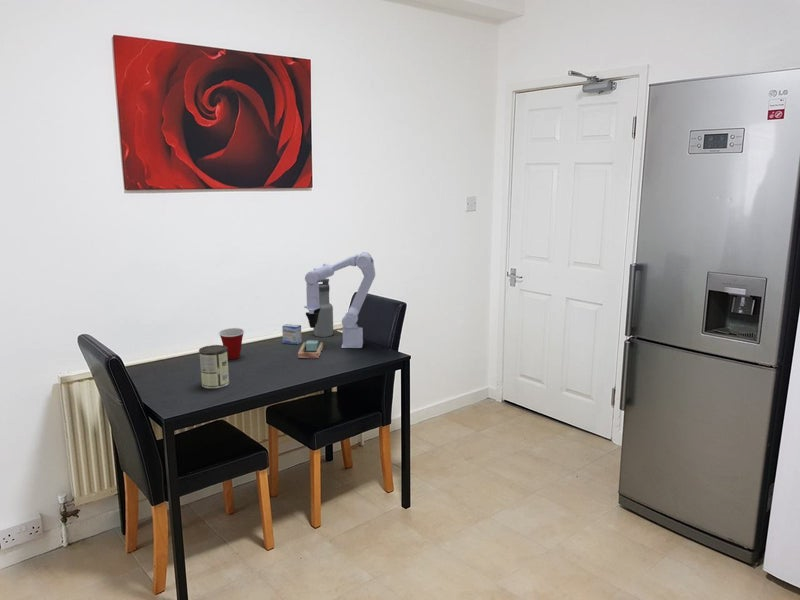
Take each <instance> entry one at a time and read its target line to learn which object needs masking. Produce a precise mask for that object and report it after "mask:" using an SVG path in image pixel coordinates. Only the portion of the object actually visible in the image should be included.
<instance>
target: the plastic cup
mask: <svg viewBox="0 0 800 600" xmlns="http://www.w3.org/2000/svg"><path fill="white" fill-rule="evenodd" d="M244 333H245V330H244V329H243V328H239V327H230V328H225V329H222V330H220V331H219V332H218V335H219V337H220V338H221V339H220V340H221V342H222V345H223V346H226V347H227V355H228V360H237V358H238V359H239V357H241V353H242V352H241V351H242V345H243V339H244V338H243V337H244Z"/></svg>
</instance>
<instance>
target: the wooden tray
mask: <svg viewBox="0 0 800 600" xmlns="http://www.w3.org/2000/svg"><path fill="white" fill-rule="evenodd" d="M306 342H307V341H302V344H301V346H300V348H299V350H298V352H297V359H298V358H308V360H309V358H311V359H312V358H313V359H314V358H320V357H321V354H322V352H321V351H323V348H324V341H320V343H318V349H317V351H306V349H305V348H306ZM305 351H306V352H305ZM319 356H320V357H319ZM313 359H312V360H313ZM314 360H315V359H314Z"/></svg>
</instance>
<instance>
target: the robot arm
mask: <svg viewBox="0 0 800 600" xmlns="http://www.w3.org/2000/svg"><path fill="white" fill-rule="evenodd" d="M350 266H351V267H357V268H358V269H359V270H361V273H362V274H363V279H362V280H361V283H360V285H359V287H358V289H357V292H356V294H355V296H354V298H353V301H352V303H351V305H350V306H349V309H348V310H347V312H346V313H345V315H344V316H343V318H342V319H341V324H342V344H341V347H340V348H341V349H361V348H363V344H364V339H363V334H364V333H363V327H360V326H359V325H358V324H357V322H358V320H359V313H360V311H361V309H362V306H363V304H364V302H365V299H366V297H367V295H368V293H369V291H370V288H371V286H372V284H373V282H374V280H375V278H376V268H375V261H374V259H373V257H372V255H371V254H370V253H369V252H365V251H364V252H361V253H357V254H354V255H351V256H348V257H346V258H344V259H342V260H341V261H338V262H336V263H334V264H330V263H323V264H322V266H319V267H318V268H317V267H314V268H313V270H310V271H308V272H306V274H305V275H304V276H305V277H304V281H305V284H306V289H305V290H306V293H305V294H306V305H304V306H303V308H304V309H307V311H308V312H305V315H306V316H305V317H306V318H307V320H308V324H309V328H311V329H313V328H315V325H316V324H317V321H318V315H319V312H320V309H321V308H320V306H319V284H320V283H319V282H318V281H319V280H323V279H329V277H332V276H334V275H335V273H336V272H337V271H340V270H342V269H344V268H346V267H350Z"/></svg>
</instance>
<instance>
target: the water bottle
mask: <svg viewBox="0 0 800 600" xmlns="http://www.w3.org/2000/svg"><path fill="white" fill-rule="evenodd" d="M329 283H330V278H325V279H323V280H319V281H318V284H319V306H320V308H321V309H320V312H319V315H318V321H317V324H316V325H315V328H312V329H313V335H314V336H315V337H319V338H327V337H331V336H333V334H334V307H333V304H332V303H330V290H331V289H330V285H329Z"/></svg>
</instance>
